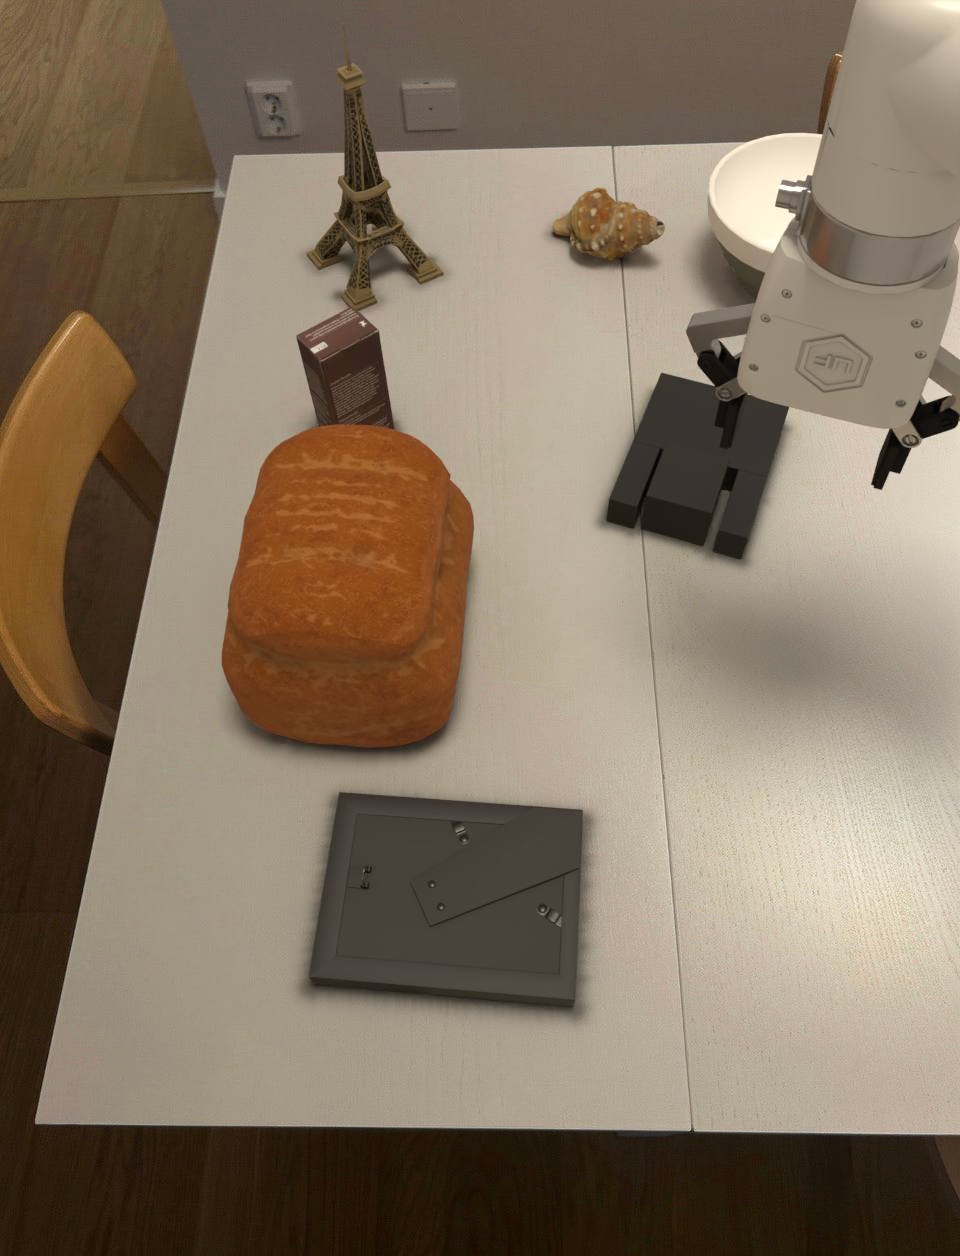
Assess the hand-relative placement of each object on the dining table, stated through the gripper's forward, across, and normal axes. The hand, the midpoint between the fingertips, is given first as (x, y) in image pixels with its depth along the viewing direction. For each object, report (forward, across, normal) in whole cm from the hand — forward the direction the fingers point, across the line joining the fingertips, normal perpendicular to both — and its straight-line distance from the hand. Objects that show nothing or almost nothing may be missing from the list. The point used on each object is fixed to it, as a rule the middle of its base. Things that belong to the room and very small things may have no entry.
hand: (804, 453), depth 68 cm
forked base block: (+22, -8, +15) cm, 28 cm away
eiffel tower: (+21, -48, +31) cm, 60 cm away
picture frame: (+22, -14, -29) cm, 39 cm away
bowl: (+22, -7, +44) cm, 50 cm away
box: (+21, -39, +9) cm, 45 cm away
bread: (+22, -29, -11) cm, 38 cm away
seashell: (+21, -26, +42) cm, 54 cm away
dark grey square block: (+22, -8, +11) cm, 26 cm away
